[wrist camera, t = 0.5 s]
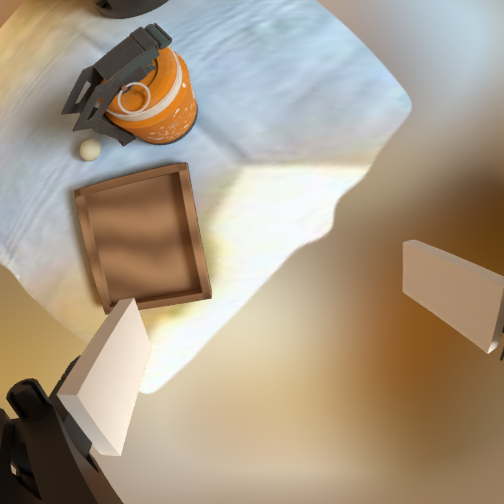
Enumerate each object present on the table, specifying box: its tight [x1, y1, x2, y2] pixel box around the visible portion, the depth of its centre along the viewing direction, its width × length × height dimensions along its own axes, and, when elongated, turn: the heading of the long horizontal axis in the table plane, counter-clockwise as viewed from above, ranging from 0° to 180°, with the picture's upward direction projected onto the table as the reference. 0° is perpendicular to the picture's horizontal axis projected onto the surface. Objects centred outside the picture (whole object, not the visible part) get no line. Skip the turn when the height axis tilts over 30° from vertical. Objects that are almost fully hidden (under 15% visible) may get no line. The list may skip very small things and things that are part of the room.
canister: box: [61, 23, 198, 146], centre depth 24 cm, size 9×11×20 cm
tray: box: [74, 162, 212, 315], centre depth 36 cm, size 18×16×3 cm
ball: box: [80, 138, 102, 161], centre depth 32 cm, size 3×3×3 cm
